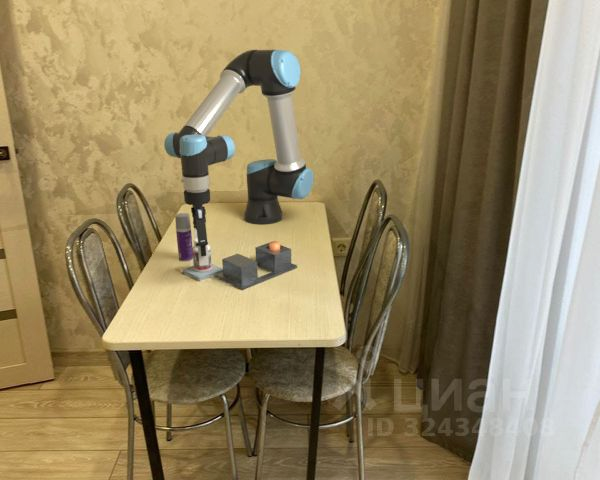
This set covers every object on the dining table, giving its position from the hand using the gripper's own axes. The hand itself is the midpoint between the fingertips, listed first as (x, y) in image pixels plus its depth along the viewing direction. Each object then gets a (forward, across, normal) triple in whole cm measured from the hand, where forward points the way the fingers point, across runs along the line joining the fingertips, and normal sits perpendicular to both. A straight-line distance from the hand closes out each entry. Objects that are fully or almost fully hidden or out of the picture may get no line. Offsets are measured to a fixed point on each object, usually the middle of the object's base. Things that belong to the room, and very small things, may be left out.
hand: (202, 256), depth 166 cm
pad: (+5, 0, 0) cm, 5 cm away
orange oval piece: (+3, +1, +22) cm, 23 cm away
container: (+5, -12, -4) cm, 14 cm away
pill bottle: (+4, 0, 0) cm, 4 cm away
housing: (+5, +5, +16) cm, 17 cm away
